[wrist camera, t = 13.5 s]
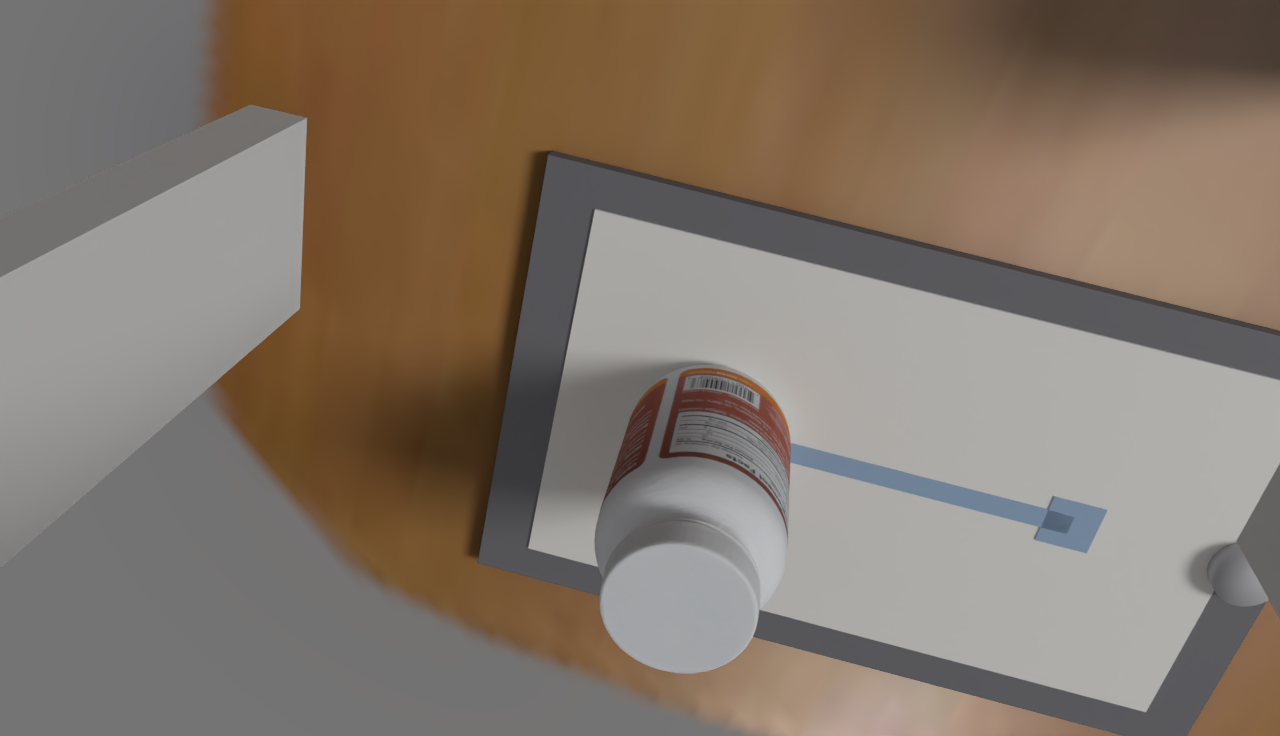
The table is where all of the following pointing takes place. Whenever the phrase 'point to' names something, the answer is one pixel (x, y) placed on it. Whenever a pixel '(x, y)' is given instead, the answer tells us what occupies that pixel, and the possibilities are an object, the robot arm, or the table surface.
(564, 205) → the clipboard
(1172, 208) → the table surface
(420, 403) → the table surface
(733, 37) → the table surface
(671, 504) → the pill bottle
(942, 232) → the table surface
